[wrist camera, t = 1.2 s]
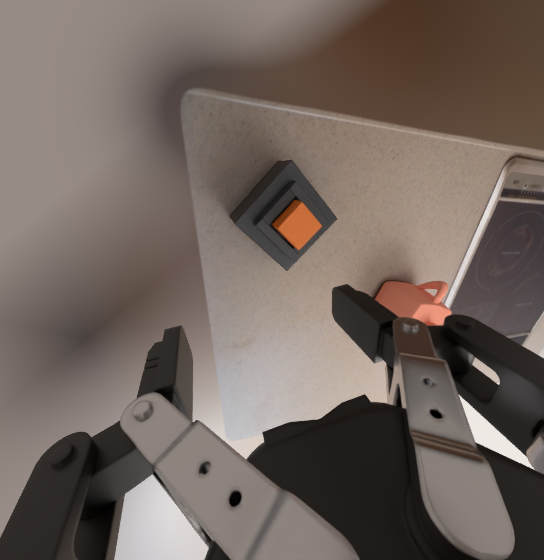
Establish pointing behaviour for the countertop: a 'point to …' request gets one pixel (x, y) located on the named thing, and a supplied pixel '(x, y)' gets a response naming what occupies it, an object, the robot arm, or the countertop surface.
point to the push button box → (280, 211)
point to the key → (297, 224)
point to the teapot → (415, 301)
